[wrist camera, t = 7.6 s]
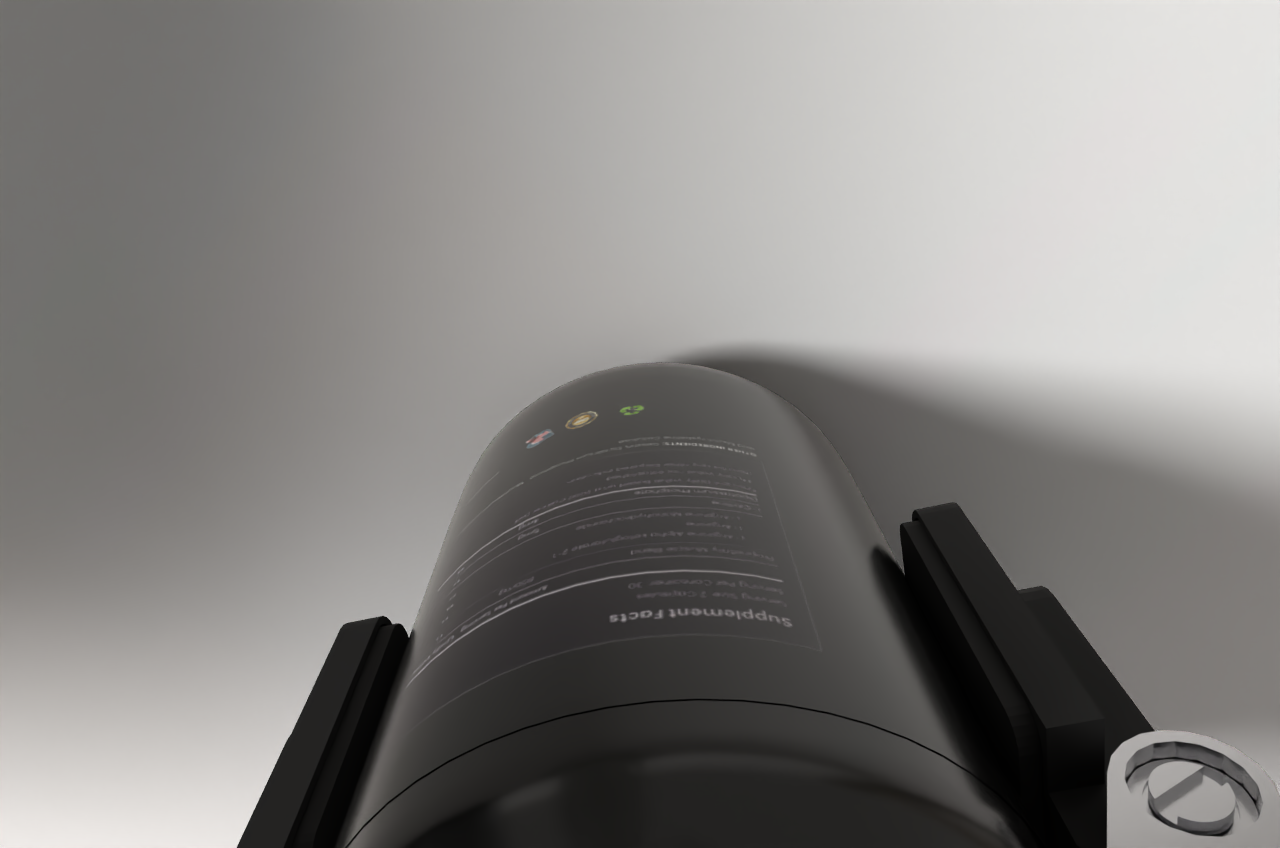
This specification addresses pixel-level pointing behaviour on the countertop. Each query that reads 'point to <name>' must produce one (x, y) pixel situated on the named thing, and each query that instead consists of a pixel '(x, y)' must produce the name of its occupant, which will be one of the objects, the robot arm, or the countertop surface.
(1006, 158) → the countertop surface
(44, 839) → the countertop surface
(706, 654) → the supplement bottle
